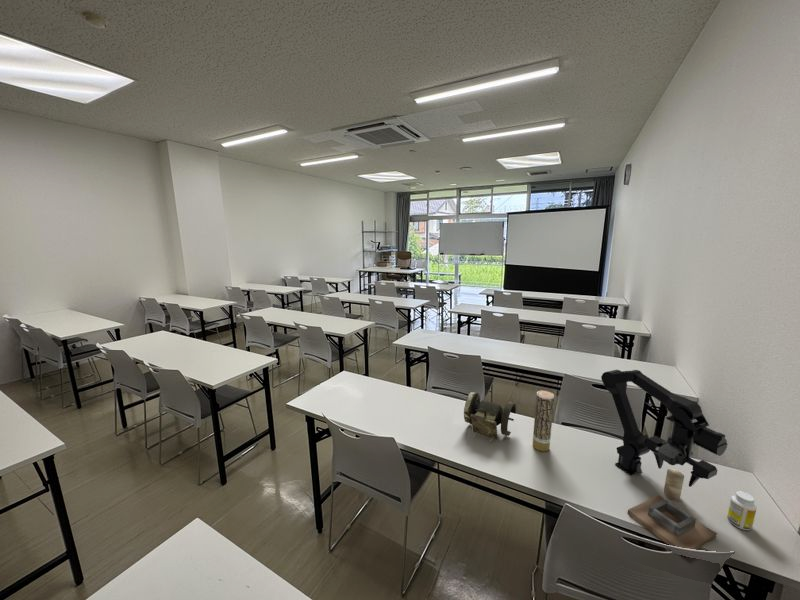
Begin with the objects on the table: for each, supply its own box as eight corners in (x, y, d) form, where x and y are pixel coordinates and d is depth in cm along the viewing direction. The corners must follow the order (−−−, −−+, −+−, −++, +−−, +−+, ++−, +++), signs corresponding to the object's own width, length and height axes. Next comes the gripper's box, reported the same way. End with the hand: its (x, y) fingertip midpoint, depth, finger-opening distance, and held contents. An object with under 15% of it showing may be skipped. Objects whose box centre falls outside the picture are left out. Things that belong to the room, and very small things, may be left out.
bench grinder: (475, 406, 167) (468, 380, 156) (519, 417, 154) (515, 390, 144) (461, 440, 153) (453, 414, 143) (508, 455, 141) (502, 427, 131)
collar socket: (627, 513, 106) (629, 501, 105) (657, 498, 112) (659, 487, 111) (684, 557, 91) (687, 544, 91) (716, 537, 97) (718, 525, 96)
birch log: (551, 453, 136) (556, 398, 131) (534, 451, 137) (538, 397, 132) (547, 443, 142) (552, 391, 137) (531, 441, 144) (535, 389, 139)
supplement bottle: (750, 523, 102) (757, 495, 100) (752, 534, 98) (759, 506, 96) (726, 513, 106) (732, 486, 104) (726, 523, 102) (733, 496, 100)
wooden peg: (660, 493, 114) (664, 470, 113) (668, 489, 116) (672, 467, 114) (675, 502, 110) (679, 479, 109) (682, 498, 112) (687, 476, 110)
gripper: (637, 427, 114) (631, 465, 117) (702, 460, 97) (693, 504, 100) (657, 420, 118) (651, 457, 121) (722, 451, 101) (713, 493, 105)
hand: (674, 476), depth 112 cm, fingers open, 9 cm apart
